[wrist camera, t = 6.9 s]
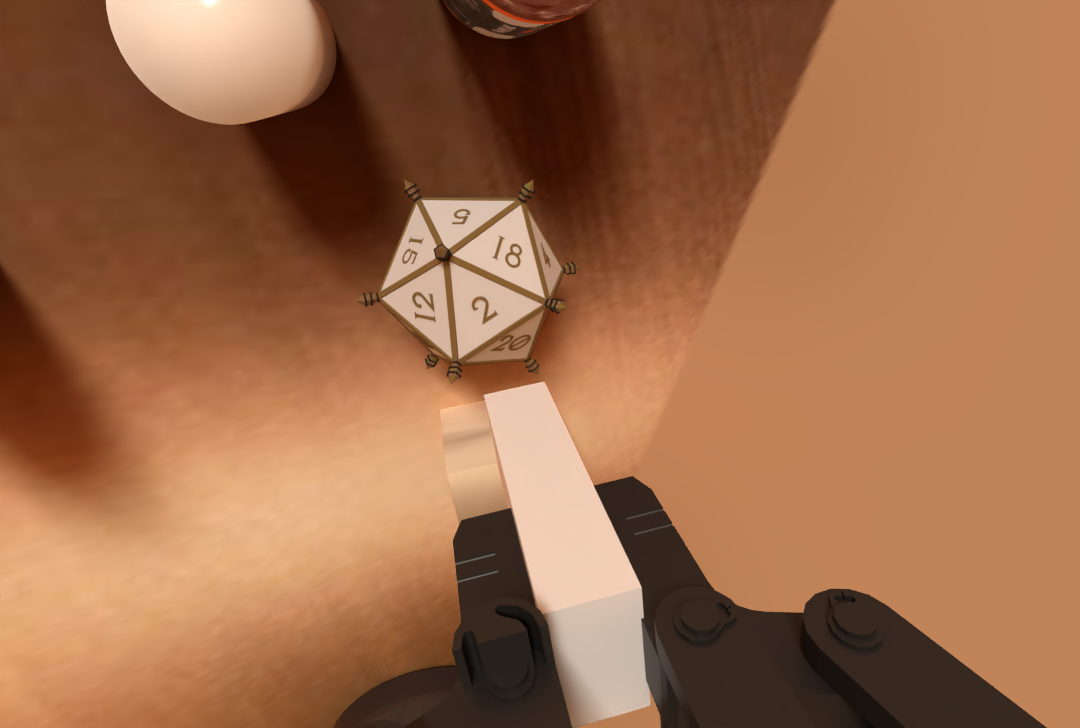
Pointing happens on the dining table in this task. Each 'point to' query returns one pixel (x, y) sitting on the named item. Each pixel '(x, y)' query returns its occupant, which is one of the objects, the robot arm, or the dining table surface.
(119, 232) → the dining table surface
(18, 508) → the dining table surface
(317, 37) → the white upright cylinder
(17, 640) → the dining table surface
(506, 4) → the supplement bottle
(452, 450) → the beech block
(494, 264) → the game die
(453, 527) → the dining table surface
